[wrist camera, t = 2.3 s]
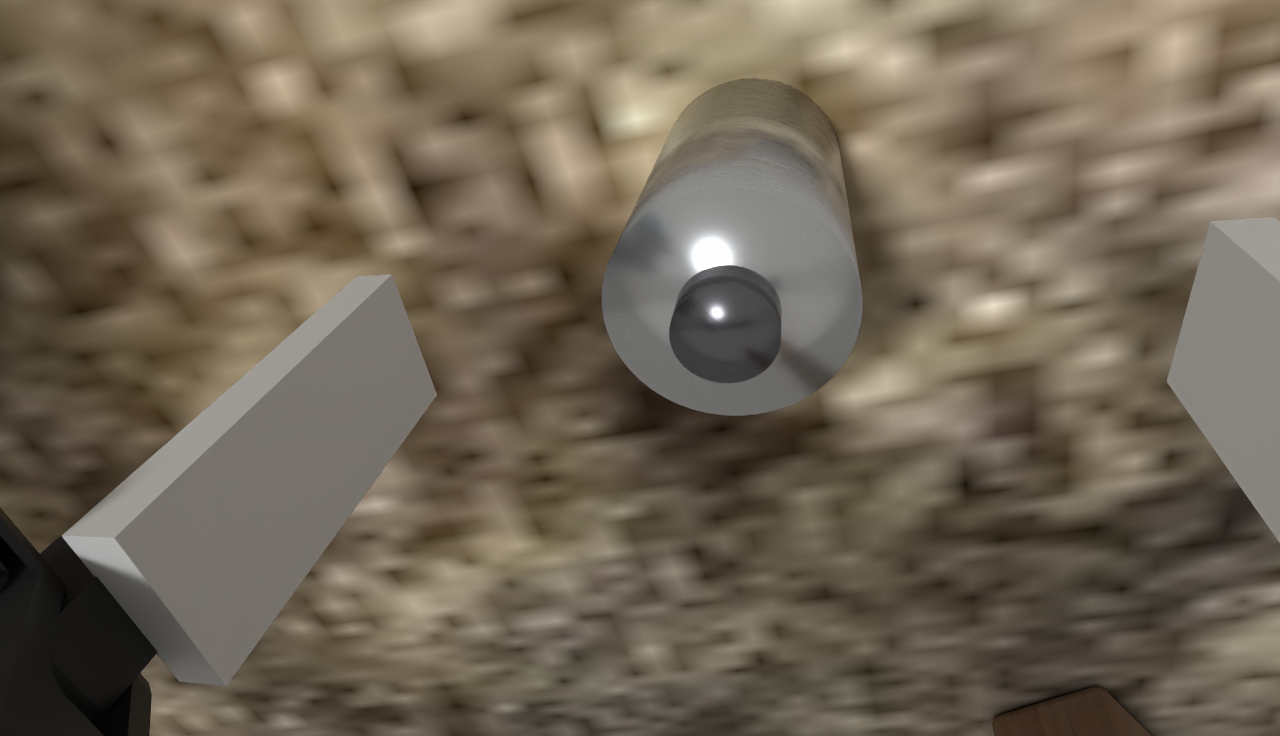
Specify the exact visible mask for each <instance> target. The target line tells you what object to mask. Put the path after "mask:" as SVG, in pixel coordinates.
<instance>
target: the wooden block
mask: <svg viewBox="0 0 1280 736" xmlns="http://www.w3.org/2000/svg"><path fill="white" fill-rule="evenodd" d="M992 725H993V730H994V734H995V736H1151V735H1150V734H1149V733H1148V732H1147V731H1146V730H1145V729H1144V728H1143V727H1142V726H1141V725H1140V724H1139V723H1138V722H1137V721H1136V720H1135V719H1134V718H1133V717H1132V716H1131V715H1130V714H1129V713H1128V712H1127V711H1126V710H1125V709H1124V708H1123V707H1122V706H1121V705H1120V704H1119V703H1118V702H1117V701H1116V700H1115V699H1114V698H1113V697H1112V696H1111V695H1110V694H1109V693H1108V692H1107V691H1106V690H1105V689H1103V688H1100V687H1091V688H1088V689H1084V690H1081V691H1078V692H1075V693H1071V694H1068V695H1065V696H1061V697H1058V698H1055V699H1051V700H1048V701H1045V702H1041V703H1038V704H1035V705H1032V706H1028V707H1025V708H1022V709H1018V710H1015V711H1012V712H1008V713H1005V714H1002V715H999V716H997V717H995V718H994V719H993V724H992Z"/></svg>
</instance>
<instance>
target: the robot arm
mask: <svg viewBox="0 0 1280 736" xmlns="http://www.w3.org/2000/svg"><path fill="white" fill-rule="evenodd" d="M1167 383H1168V385H1169V386H1170V387H1171V389H1172V390H1173V392H1174V393H1175V394H1176V396H1177V397H1178V399H1179V400H1180V402H1181V403H1182V404H1183V406H1184V407H1185V409H1186V410H1187V412H1188V413H1189V414H1190V416H1191V417H1192V419H1193V420H1194V422H1195V423H1196V424H1197V426H1198V427H1199V429H1200V430H1201V432H1202V433H1203V434H1204V436H1205V437H1206V439H1207V440H1208V441H1209V443H1210V444H1211V446H1212V447H1213V449H1214V450H1215V451H1216V453H1217V454H1218V456H1219V457H1220V459H1221V460H1222V461H1223V463H1224V464H1225V466H1226V467H1227V469H1228V470H1229V471H1230V473H1231V474H1232V476H1233V477H1234V479H1235V480H1236V481H1237V483H1238V484H1239V486H1240V487H1241V489H1242V490H1243V491H1244V493H1245V494H1246V496H1247V497H1248V498H1249V500H1250V501H1251V503H1252V504H1253V506H1254V507H1255V508H1256V510H1257V511H1258V513H1259V514H1260V516H1261V517H1262V518H1263V520H1264V521H1265V523H1266V524H1267V526H1268V527H1269V528H1270V530H1271V531H1272V533H1273V534H1274V536H1275V537H1276V538H1277V540H1278V541H1279V543H1280V221H1279V220H1277V219H1276V218H1275V217H1271V218H1255V219H1240V220H1225V221H1210V225H1209V228H1208V232H1207V236H1206V239H1205V243H1204V247H1203V250H1202V254H1201V258H1200V261H1199V265H1198V269H1197V272H1196V276H1195V280H1194V283H1193V287H1192V290H1191V294H1190V298H1189V301H1188V305H1187V309H1186V312H1185V316H1184V320H1183V323H1182V327H1181V331H1180V334H1179V338H1178V342H1177V345H1176V349H1175V353H1174V356H1173V360H1172V363H1171V367H1170V371H1169V374H1168V378H1167ZM436 396H437V394H436V391H435V389H434V386H433V383H432V381H431V378H430V375H429V373H428V370H427V367H426V364H425V362H424V359H423V356H422V354H421V351H420V348H419V346H418V343H417V340H416V338H415V335H414V332H413V330H412V327H411V324H410V321H409V319H408V316H407V313H406V311H405V308H404V305H403V303H402V300H401V297H400V295H399V292H398V289H397V287H396V284H395V281H394V278H393V276H392V274H390V275H375V276H359V277H355V278H354V279H353V280H352V281H351V282H349V283H348V284H347V285H346V286H345V287H344V288H343V289H342V290H340V291H339V292H338V293H337V294H336V295H335V296H334V297H332V298H331V299H330V300H329V301H328V302H327V303H326V304H324V305H323V306H322V307H321V308H320V309H319V310H318V311H316V312H315V313H314V314H313V315H312V316H311V317H310V318H309V319H307V320H306V321H305V322H304V323H303V324H302V325H301V326H299V327H298V328H297V329H296V330H295V331H294V332H293V333H291V334H290V335H289V336H288V337H287V338H286V339H285V340H284V341H282V342H281V343H280V344H279V345H278V346H277V347H276V348H274V349H273V350H272V351H271V352H270V353H269V354H268V355H266V356H265V357H264V358H263V359H262V360H261V361H260V362H258V363H257V364H256V365H255V366H254V367H253V368H252V369H251V370H249V371H248V372H247V373H246V374H245V375H244V376H243V377H241V378H240V379H239V380H238V381H237V382H236V383H235V384H233V385H232V386H231V387H230V388H229V389H228V390H227V391H225V392H224V393H223V394H222V395H221V396H220V397H219V398H218V399H216V400H215V401H214V402H213V403H212V404H211V405H210V406H208V407H207V408H206V409H205V410H204V411H203V412H202V413H200V414H199V415H198V416H197V417H196V418H195V419H194V420H192V421H191V422H190V423H189V424H188V425H187V426H186V427H185V428H183V429H182V430H181V431H180V432H179V433H178V434H177V435H175V436H174V437H173V438H172V439H170V440H169V441H168V442H167V443H166V444H165V445H164V446H163V447H161V448H160V449H159V450H158V451H157V452H156V453H155V454H153V455H152V456H151V457H150V458H149V459H148V460H147V461H146V462H145V463H144V464H142V465H141V466H140V467H139V468H137V469H136V470H135V471H134V472H133V473H132V474H131V475H129V476H128V477H127V478H126V479H125V480H124V481H123V482H122V483H120V484H119V485H118V486H117V487H116V488H115V489H114V490H112V491H111V492H110V493H109V494H108V495H107V496H106V497H104V498H103V499H102V500H101V501H100V502H99V503H98V504H96V505H95V506H94V507H93V508H92V509H91V510H90V511H89V512H87V513H86V514H85V515H84V516H83V517H82V518H81V519H79V520H78V521H77V522H76V523H75V524H74V525H73V526H71V527H70V528H69V529H68V530H67V531H66V532H65V533H63V534H62V535H61V536H60V537H59V538H58V539H57V540H56V541H54V542H53V543H52V544H51V545H50V546H49V547H48V548H46V549H45V550H44V551H43V552H42V553H41V554H39V553H38V552H37V550H36V549H35V548H34V547H33V546H32V544H31V543H30V542H29V541H28V540H27V539H26V537H25V536H24V535H23V534H22V533H21V531H20V530H19V529H18V528H17V527H16V526H15V524H14V523H13V522H12V521H11V520H10V518H9V517H8V516H7V515H6V514H5V513H4V511H3V510H2V509H1V508H0V736H149V731H150V713H151V696H152V694H151V690H150V686H149V683H148V682H147V680H146V679H145V678H144V677H143V676H142V675H141V673H140V672H141V671H142V670H143V669H144V668H145V666H146V665H147V664H148V663H149V662H150V660H151V659H152V658H153V657H154V656H155V655H156V653H157V655H158V656H159V657H160V658H161V660H162V661H163V662H164V663H165V665H166V666H167V667H168V668H169V670H170V671H171V672H172V673H173V675H174V676H175V677H176V678H177V679H178V681H179V682H188V683H198V684H208V685H218V686H227V685H228V683H229V682H230V681H231V679H232V678H233V677H234V675H235V674H236V672H237V671H238V670H239V668H240V667H241V665H242V664H243V663H244V661H245V660H246V659H247V657H248V656H249V654H250V653H251V652H252V650H253V649H254V647H255V646H256V645H257V643H258V642H259V641H260V639H261V638H262V636H263V635H264V634H265V632H266V631H267V629H268V628H269V627H270V625H271V624H272V623H273V621H274V620H275V618H276V617H277V616H278V614H279V613H280V611H281V610H282V609H283V607H284V606H285V605H286V603H287V602H288V600H289V599H290V598H291V596H292V595H293V593H294V592H295V591H296V589H297V588H298V587H299V585H300V584H301V582H302V581H303V580H304V578H305V577H306V575H307V574H308V573H309V571H310V570H311V569H312V567H313V566H314V564H315V563H316V562H317V560H318V559H319V557H320V556H321V555H322V553H323V552H324V551H325V549H326V548H327V546H328V545H329V544H330V542H331V541H332V539H333V538H334V537H335V535H336V534H337V533H338V531H339V530H340V528H341V527H342V526H343V524H344V523H345V521H346V520H347V519H348V517H349V516H350V515H351V513H352V512H353V510H354V509H355V508H356V506H357V505H358V503H359V502H360V501H361V499H362V498H363V497H364V495H365V494H366V492H367V491H368V490H369V488H370V487H371V485H372V484H373V483H374V481H375V480H376V479H377V477H378V476H379V474H380V473H381V472H382V470H383V469H384V468H385V466H386V465H387V463H388V462H389V461H390V459H391V458H392V456H393V455H394V454H395V452H396V451H397V450H398V448H399V447H400V445H401V444H402V443H403V441H404V440H405V438H406V437H407V436H408V434H409V433H410V432H411V430H412V429H413V427H414V426H415V425H416V423H417V422H418V420H419V419H420V418H421V416H422V415H423V414H424V412H425V411H426V409H427V408H428V407H429V405H430V404H431V402H432V401H433V400H434V398H435V397H436Z"/></svg>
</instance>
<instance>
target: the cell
mask: <svg viewBox="0 0 1280 736" xmlns="http://www.w3.org/2000/svg"><path fill="white" fill-rule="evenodd" d="M602 310H603V317H604V322H605V326H606V329H607V332H608V335H609V337H610V340H611V342H612V344H613V346H614V348H615V350H616V351H617V353H618V355H619V356H620V358H621V359H622V361H623V362H624V363H625V365H626V366H627V367H628V368H629V370H630V371H631V372H632V373H633V374H634V375H635V376H636V377H637V378H638V379H639V380H640V381H642V382H643V383H644V384H645V385H647V386H648V387H649V388H650V389H652V390H653V391H655V392H656V393H658V394H660V395H661V396H663V397H665V398H666V399H669V400H671V401H673V402H675V403H677V404H679V405H682V406H685V407H687V408H690V409H693V410H697V411H701V412H705V413H711V414H718V415H732V416H742V415H755V414H761V413H766V412H771V411H774V410H778V409H781V408H784V407H787V406H789V405H792V404H794V403H796V402H799V401H800V400H802V399H804V398H806V397H808V396H809V395H811V394H813V393H814V392H815V391H817V390H818V389H819V388H821V387H822V386H824V385H825V384H826V383H827V382H828V381H829V380H830V379H831V378H832V377H833V376H834V375H835V374H836V373H837V372H838V370H839V369H840V368H841V367H842V365H843V364H844V363H845V361H846V359H847V358H848V356H849V354H850V353H851V351H852V349H853V347H854V344H855V342H856V339H857V337H858V334H859V330H860V325H861V321H862V310H863V301H862V289H861V283H860V276H859V270H858V264H857V257H856V251H855V245H854V238H853V232H852V226H851V220H850V213H849V207H848V201H847V194H846V188H845V182H844V175H843V169H842V163H841V157H840V150H839V146H838V141H837V138H836V135H835V132H834V130H833V127H832V125H831V124H830V122H829V120H828V118H827V117H826V115H825V114H824V113H823V111H822V110H821V109H820V107H819V106H818V105H817V104H816V103H815V102H814V101H813V100H812V99H810V98H809V97H808V96H806V95H805V94H803V93H802V92H801V91H799V90H797V89H795V88H793V87H791V86H789V85H786V84H783V83H781V82H777V81H773V80H768V79H758V78H751V79H740V80H735V81H730V82H727V83H724V84H721V85H718V86H716V87H714V88H712V89H710V90H708V91H706V92H705V93H703V94H702V95H700V96H699V97H697V98H696V99H695V100H694V101H693V102H692V103H691V104H689V105H688V106H687V108H686V109H685V110H684V111H683V112H682V113H681V114H680V116H679V117H678V119H677V120H676V122H675V124H674V125H673V127H672V129H671V131H670V134H669V136H668V138H667V140H666V142H665V144H664V146H663V148H662V150H661V153H660V155H659V157H658V159H657V161H656V163H655V165H654V167H653V169H652V172H651V174H650V176H649V178H648V180H647V182H646V184H645V186H644V188H643V191H642V193H641V195H640V197H639V199H638V201H637V203H636V205H635V207H634V210H633V212H632V214H631V216H630V218H629V220H628V222H627V224H626V226H625V229H624V231H623V233H622V235H621V237H620V239H619V241H618V243H617V245H616V248H615V250H614V252H613V254H612V256H611V258H610V260H609V262H608V266H607V269H606V272H605V275H604V280H603V287H602Z"/></svg>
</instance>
